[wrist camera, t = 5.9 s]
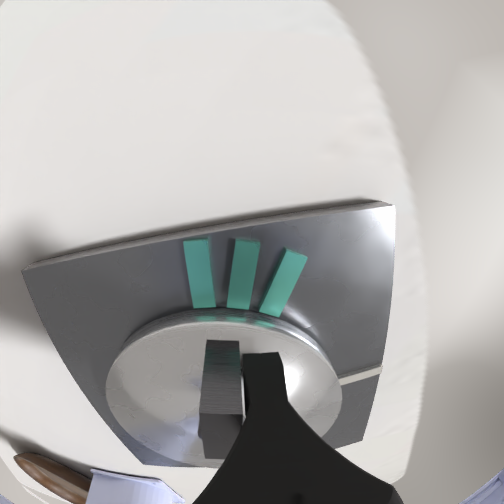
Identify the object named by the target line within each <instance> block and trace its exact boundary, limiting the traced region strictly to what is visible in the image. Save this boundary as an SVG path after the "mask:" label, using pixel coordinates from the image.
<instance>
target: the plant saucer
mask: <svg viewBox="0 0 504 504" xmlns="http://www.w3.org/2000/svg"><path fill="white" fill-rule="evenodd" d="M14 460H15V462H16V463H17V464H18V466H19V467H20V468H21V469H22V470H23V471H24V472H26V473H27V474H28V475H29V476H30V477H31V478H33V479H34V480H35V481H37V482H38V483H39V484H41V485H42V486H44V487H45V488H47V489H48V490H50V491H51V492H53V493H55V494H56V495H58V496H60V497H61V498H63V499H65V500H67V501H69V502H71V503H73V504H86V500H87V496H88V493H89V489H90V485H91V482H92V480H90V479H89V478H87V477H85V476H83V475H81V474H79V473H77V472H75V471H73V470H71V469H69V468H68V467H66V466H63V465H61V464H59V463H57V462H55V461H53V460H51V459H49V458H46V457H44V456H41V455H38V454H35V453H22V454H18V455H16V456H14Z"/></svg>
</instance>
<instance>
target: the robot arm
mask: <svg viewBox="0 0 504 504" xmlns="http://www.w3.org/2000/svg"><path fill="white" fill-rule="evenodd" d="M242 355H243V383H244V403H245V416H246V418H245V420H244V423H243V425H242V427H241V430H240V432H239V434H238V436H237V438H236V440H235V442H234V444H233V446H232V448H231V450H230V451H229V453H228V455H227V457H226V458H225V460H224V462H223V463H222V465H221V467H220V468H219V469H218V471H217V472H216V474H215V475H214V477H213V478H212V480H211V481H210V483H209V484H208V485H207V487H206V488H205V489H204V490H203V492H202V493H201V494H200V495H199V496H198V498H197V499H196V500H195V501H194V502H193V503H192V504H404V503H403V501H402V499H401V498H400V496H399V494H398V493H397V491H396V490H395V488H394V487H393V486H392V485H390V484H388V483H386V482H384V481H382V480H380V479H378V478H376V477H375V476H373V475H371V474H369V473H367V472H366V471H364V470H363V469H361V468H359V467H358V466H356V465H355V464H353V463H352V462H350V461H349V460H348V459H346V458H345V457H344V456H342V455H341V454H340V453H339V452H337V451H336V450H335V449H333V448H332V447H331V446H330V445H329V444H327V443H326V442H325V441H324V440H323V439H322V438H321V437H320V436H319V435H318V434H317V433H316V432H315V431H314V430H313V429H312V428H311V427H310V426H309V425H308V424H307V423H306V422H305V421H304V420H303V419H302V417H301V416H300V415H299V414H298V413H297V411H296V410H295V409H294V408H293V406H292V405H291V404H290V402H289V401H288V395H287V388H286V380H285V373H284V366H283V363H282V360H281V357H280V355H279V352H267V353H261V354H260V353H247V354H242ZM90 471H91V472H92V473H93V474H94V475H93V478H92V482H91V485H90V489H89V493H88V496H87V500H86V504H173V503H185V500H184V499H183V498H181V497H180V496H179V495H178V494H176V493H175V492H174V491H173V490H172V489H170V488H169V487H168V486H167V485H166V484H165V483H164V482H162V481H161V480H156V479H147V478H139V477H132V476H126V475H120V474H115V473H110V472H105V471H100V470H96V469H91V470H90ZM0 504H14V503H12V502H11V501H9V500H8V499H6V498H5V497H4V496H2V495H1V494H0ZM459 504H504V468H503V469H502V470H501V471H500V472H499V473H498V474H497V475H496V476H494V477H493V478H492V479H491V480H489V481H488V482H487V483H486V484H484V485H483V486H482V487H481V488H479V489H478V490H477V491H476V492H475V493H473V494H472V495H471V496H469V497H468V498H466V499H465V500H464V501H462V502H461V503H459Z"/></svg>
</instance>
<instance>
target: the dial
mask: <svg viewBox="0 0 504 504" xmlns="http://www.w3.org/2000/svg"><path fill="white" fill-rule="evenodd" d="M267 352H279V355H280V357H281V360H282V363H283V366H284V373H285V380H286V388H287V395H288V401H289V402H290V404H291V405H292V406H293V408H294V409H295V410H296V411H297V413H298V414H299V415H300V416H301V417H302V419H303V420H304V421H305V422H306V423H307V424H308V425H309V426H310V427H311V428H312V429H313V430H314V431H315V432H316V433H317V434H318V435H319V436H320V437H322V436H323V435H324V434H325V433H326V432H327V431H328V430H329V429H330V428H331V426H332V425H333V424H334V422H335V420H336V418H337V417H338V414H339V411H340V409H341V404H342V389H341V386H340V383H339V380H338V378H337V375H336V373H335V371H334V369H333V366H332V364H331V362H330V360H329V358H328V356H327V355H326V353H325V351H324V350H323V349H322V348H321V346H320V345H319V344H318V343H317V342H316V341H315V340H314V339H313V338H311V337H310V336H309V335H308V334H307V333H305V332H303V331H302V330H300V329H298V328H297V327H295V326H293V325H291V324H289V323H287V322H284V321H282V320H280V319H277V318H274V317H271V316H267V315H264V314H260V313H255V312H250V311H245V310H236V309H225V308H220V309H198V310H189V311H183V312H179V313H175V314H171V315H167V316H165V317H162V318H159V319H157V320H154V321H152V322H150V323H149V324H147V325H145V326H143V327H141V328H140V329H139V330H137V331H136V332H135V333H134V334H132V335H131V336H130V337H129V339H128V340H127V341H126V342H125V343H124V344H123V346H122V348H121V349H120V351H119V353H118V355H117V357H116V359H115V361H114V363H113V365H112V367H111V369H110V371H109V373H108V377H107V380H106V398H107V402H108V405H109V407H110V410H111V412H112V413H113V415H114V417H115V419H116V420H117V421H118V423H119V424H120V425H121V426H122V427H123V428H124V430H125V431H126V432H127V433H128V434H130V435H131V436H132V437H133V438H134V439H136V440H137V441H138V442H140V443H141V444H143V445H144V446H146V447H147V448H149V449H151V450H153V451H155V452H157V453H159V454H161V455H163V456H165V457H168V458H171V459H173V460H176V461H179V462H183V463H186V464H191V465H195V466H201V467H208V468H220V467H221V465H222V463H223V462H224V460H225V458H226V457H227V455H228V453H229V451H230V450H231V448H232V446H233V444H234V442H235V440H236V438H237V436H238V434H239V432H240V430H241V427H242V425H243V423H244V420H245V418H246V416H245V403H244V383H243V355H242V354H247V353H260V354H261V353H267Z"/></svg>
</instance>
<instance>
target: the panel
mask: <svg viewBox="0 0 504 504" xmlns="http://www.w3.org/2000/svg"><path fill="white" fill-rule="evenodd" d="M394 252H395V206H394V205H391V204H388V203H385V202H382V201H378V202H370V203H361V204H353V205H345V206H337V207H330V208H322V209H315V210H308V211H301V212H294V213H287V214H281V215H274V216H267V217H261V218H255V219H248V220H242V221H236V222H230V223H224V224H218V225H213V226H207V227H201V228H195V229H190V230H184V231H179V232H174V233H168V234H163V235H158V236H153V237H148V238H142V239H137V240H133V241H128V242H123V243H118V244H113V245H108V246H104V247H99V248H94V249H90V250H85V251H81V252H76V253H72V254H68V255H63V256H59V257H55V258H50V259H46V260H42V261H38V262H34V263H32V264H31V265H29V266H28V267H26V268H25V269H23V270H22V274H23V277H24V279H25V282H26V285H27V287H28V290H29V292H30V295H31V297H32V300H33V302H34V304H35V307H36V309H37V311H38V314H39V316H40V318H41V320H42V322H43V324H44V326H45V328H46V330H47V332H48V334H49V336H50V338H51V340H52V342H53V344H54V346H55V348H56V349H57V351H58V353H59V355H60V357H61V358H62V360H63V362H64V363H65V365H66V367H67V368H68V370H69V372H70V373H71V375H72V376H73V378H74V380H75V381H76V383H77V384H78V386H79V387H80V389H81V390H82V392H83V393H84V394H85V396H86V397H87V399H88V400H89V402H90V403H91V404H92V406H93V407H94V408H95V410H96V411H97V412H98V414H99V415H100V416H101V417H102V419H103V420H104V421H105V423H106V424H107V425H108V426H109V427H110V429H111V430H112V431H113V432H114V433H115V435H116V436H117V437H118V438H119V439H120V440H121V441H122V443H123V444H124V445H125V446H126V447H127V448H128V449H129V450H130V451H131V452H132V453H133V454H134V456H135V457H136V458H137V459H138V460H139V461H140V462H141V463H142V464H145V465H155V466H170V467H201V466H195V465H191V464H186V463H183V462H179V461H176V460H173V459H171V458H168V457H165V456H163V455H161V454H159V453H157V452H155V451H153V450H151V449H149V448H147V447H146V446H144V445H143V444H141V443H140V442H138V441H137V440H136V439H134V438H133V437H132V436H131V435H130V434H128V433H127V432H126V431H125V430H124V428H123V427H122V426H121V425H120V424H119V423H118V421H117V420H116V419H115V417H114V415H113V413H112V412H111V410H110V407H109V405H108V402H107V398H106V380H107V377H108V373H109V371H110V369H111V367H112V365H113V363H114V361H115V359H116V357H117V355H118V353H119V351H120V349H121V348H122V346H123V344H124V343H125V342H126V341H127V340H128V339H129V337H130V336H131V335H132V334H134V333H135V332H136V331H137V330H139V329H140V328H141V327H143V326H145V325H147V324H149V323H150V322H152V321H154V320H157V319H159V318H162V317H165V316H167V315H171V314H175V313H179V312H183V311H189V310H198V309H220V308H225V309H236V310H245V311H250V312H255V313H260V314H264V315H267V316H271V317H274V318H277V319H280V320H282V321H284V322H287V323H289V324H291V325H293V326H295V327H297V328H298V329H300V330H302V331H303V332H305V333H307V334H308V335H309V336H310V337H311V338H313V339H314V340H315V341H316V342H317V343H318V344H319V345H320V346H321V348H322V349H323V350H324V351H325V353H326V355H327V356H328V358H329V360H330V362H331V364H332V366H333V369H334V371H335V373H336V375H337V378H338V380H339V383H340V386H341V389H342V404H341V409H340V411H339V414H338V417H337V418H336V420H335V422H334V424H333V425H332V426H331V428H330V429H329V430H328V431H327V432H326V433H325V434H324V435H323V436H322V437H321V438H322V439H323V440H324V441H325V442H326V443H327V444H329V445H330V446H331V447H332V448H333V449H336V448H339V447H343V446H346V445H350V444H353V443H356V442H359V441H362V439H363V436H364V433H365V429H366V426H367V423H368V419H369V416H370V412H371V408H372V405H373V401H374V397H375V393H376V388H377V384H378V380H379V375H380V373H381V372H382V367H383V366H382V360H383V355H384V349H385V343H386V337H387V330H388V323H389V315H390V307H391V297H392V286H393V272H394Z"/></svg>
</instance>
